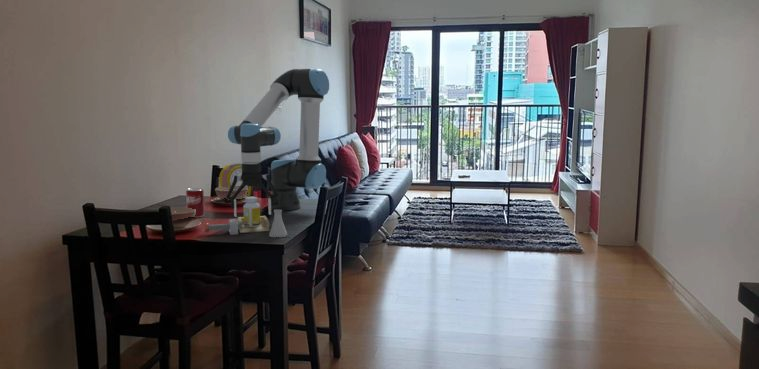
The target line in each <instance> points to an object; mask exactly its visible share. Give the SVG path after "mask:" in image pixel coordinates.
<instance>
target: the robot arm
mask: <svg viewBox="0 0 759 369" xmlns="http://www.w3.org/2000/svg"><path fill="white" fill-rule="evenodd" d="M329 91H330V80H329V77H328V75H327V73H326V72H325V71H324V70H322V69H320V68H293V69H289V70H287V71H285V72H283V74H281V75H279V76H278V77H277V78H275V80H274V81H273V82H272V83H271V85H270V86H269V90H268V92H266V93H265V94H264V96H263V97H262V98H261V99H260V101H259V102H257V104H256V105H255V106H254V107H253V109H252V110H251V111H249V113H248V114H247V115H246V117H245V118H244V119H243V120H242V121H241V123H239V125H232V126H230V127H229V129H228V132H227V138H228V141H229V142H231V143H232V144H236V145H240V153H241V154H240V156H241V159H240V162H241V164H242V175H241V176H237V175H234V180H233V182H232V185H231V187H230V189H229V191H228V193H227V195H226V199H229V200H231V201H230V208H231V209H233V215H234V218H235V217H236V218H237V217H238V215H237V200H236V199H235V198H236V197H237V195H238V194H239V193H240V192H241V191H242V189H243V188H244V187H245V186H246V185H247V186H251V187H252V186H253V187H256V186H259V187H260V188H261V189H262V190H263V192H265V194H266V195H267V196H268V198H267V200H268V201H267V206H268V209H267V210H268V215H272V211H274V210H282V212H283V211H294V210H298V209H301V207H302V206H301V199H300V198H299V195H298V190H297V188H301V189H308V190H310V189H311V190H312V189H315V190H317V189H319V188H320V187H321V186H322V185H323V184H324V182H325V180H326V177H327V169H326V165H324V164H323V163H322V159H321V158H320V156H319V147H320V146H319V145H320V144H319V141H320V140H319V138H320V119H321V118H320V116H321V114H320V112H321V111H320V110H321V103H322V102H323V101H324V97H325V96H326V95H328V93H329ZM295 95H296V96H297V99H298V100H299V102H300V120H299V121H300V122H299V123H300V126H299V128H300V130H299V154H298V156H297V157H296V158H292V157H291V158H284V159H277V160H273V161H272V162H271V164H270V174H268V173H266V174H262V164H261V161H262V156H261V154H262V152H261V151H262V150H261V147H268V146H275V145H277V144H279V142H281V135H282V134H281V132H280V130H279V128H277V127H275V126H265V127H263V125H264V124H265V123H266V122H267V121H268V120H269V118H270V117H271V116H272V115H273V114H274V113H275V111H276V110H277V108H279V106H281V104H282V103H283V101H287V100H288V99H289V98H290V97H291V96H295ZM270 178H271V179H270ZM239 179H241V180H242V181H243V183H242V184H241V185H240V187H239V188H238V189H237V190H236V192H235V193H234V194H233V195H232V196H231V194H232V191H233V189H234V187H235V185H236V183H237V181H239ZM263 179H264V180H265V181H266V182H267V184H268V186H269V188H270V191H271V192H270V191H269V190H268V188H267V187H265V185H264V184H263V183H262V182H261V181H262V180H263ZM229 200H228V201H229Z"/></svg>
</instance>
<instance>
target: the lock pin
mask: <svg viewBox="0 0 759 369" xmlns="http://www.w3.org/2000/svg"><path fill="white" fill-rule="evenodd" d="M203 226H204V234H206V233H210V231H220V230H221V231H223V230H229V229H230V224H229V223H216V224H209V223H208V222H206V223H205V222H204V223H203ZM239 229H240V223H238V230H239Z"/></svg>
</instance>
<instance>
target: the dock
mask: <svg viewBox="0 0 759 369" xmlns="http://www.w3.org/2000/svg"><path fill="white" fill-rule="evenodd" d="M236 219H237V221H238V223H240V229H238V232H239V233H240V234H241V233H254V232H255V233H256V232H270V230H271V229H270V221H269V218H267V216H266V215H260V226H257V227H246V226H244V216H237V217H236Z"/></svg>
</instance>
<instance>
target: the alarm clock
mask: <svg viewBox="0 0 759 369" xmlns="http://www.w3.org/2000/svg"><path fill="white" fill-rule="evenodd" d="M234 175H237V176H241V175H242V162H241V163H240V162H233V163H230V164H227V165H225V166H224V167H223V168H222V169H221V170H220V173H219V177H218V183H219V187H228V186H230V187H231V185H232V182H233V180H234ZM242 183H243V181H242V180H241V179H239V181H237V183H236V185H235V186H240V185H241V184H242ZM246 187H248V194H247V196H250V197H251V193H252V186H247V185H246Z"/></svg>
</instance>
